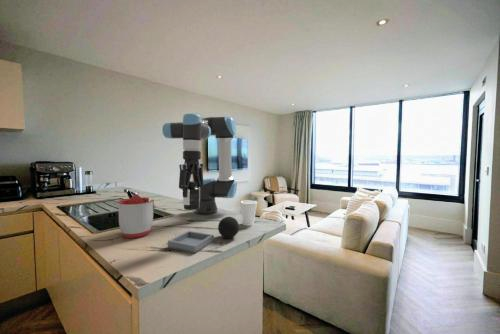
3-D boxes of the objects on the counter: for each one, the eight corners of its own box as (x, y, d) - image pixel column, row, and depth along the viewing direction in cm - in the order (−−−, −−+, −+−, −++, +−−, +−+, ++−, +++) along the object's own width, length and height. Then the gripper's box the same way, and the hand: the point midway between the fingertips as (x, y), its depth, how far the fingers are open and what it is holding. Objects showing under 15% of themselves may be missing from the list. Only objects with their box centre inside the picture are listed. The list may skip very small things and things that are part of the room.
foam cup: (250, 227, 120) (251, 204, 119) (237, 224, 125) (237, 202, 124) (259, 223, 128) (259, 201, 127) (246, 220, 133) (246, 199, 132)
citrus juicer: (162, 233, 110) (162, 193, 109) (124, 243, 97) (124, 198, 96) (149, 226, 120) (149, 190, 119) (113, 234, 107) (112, 194, 106)
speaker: (213, 238, 104) (213, 217, 104) (227, 232, 113) (227, 213, 112) (229, 243, 99) (230, 221, 98) (242, 236, 107) (243, 216, 106)
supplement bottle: (201, 207, 99) (201, 180, 98) (196, 210, 92) (196, 182, 91) (187, 206, 100) (187, 180, 99) (180, 210, 93) (180, 182, 92)
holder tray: (188, 236, 106) (188, 230, 106) (213, 241, 101) (213, 234, 100) (167, 247, 93) (167, 240, 93) (195, 253, 88) (195, 246, 87)
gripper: (198, 150, 105) (198, 198, 106) (168, 149, 87) (168, 206, 88) (211, 151, 102) (211, 199, 103) (184, 149, 84) (184, 208, 85)
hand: (191, 202), depth 96 cm, fingers closed on supplement bottle, 7 cm apart
